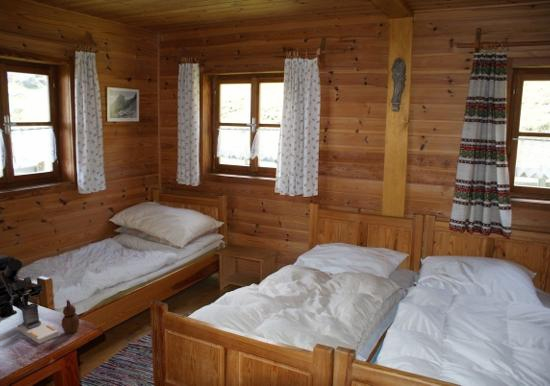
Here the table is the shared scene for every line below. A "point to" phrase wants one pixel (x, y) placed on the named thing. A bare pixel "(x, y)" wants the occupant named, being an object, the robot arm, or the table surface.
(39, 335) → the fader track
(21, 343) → the table surface
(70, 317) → the wooden figurine
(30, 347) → the table surface
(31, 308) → the fader knob
